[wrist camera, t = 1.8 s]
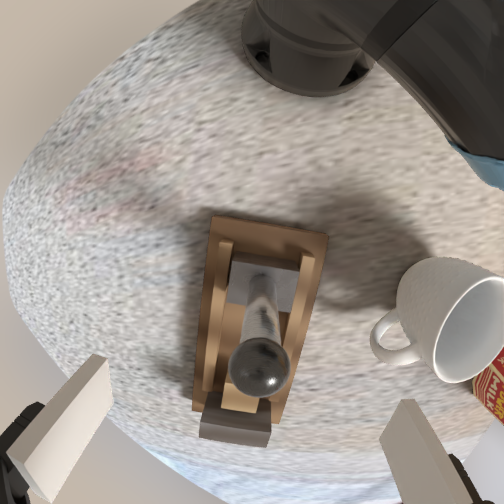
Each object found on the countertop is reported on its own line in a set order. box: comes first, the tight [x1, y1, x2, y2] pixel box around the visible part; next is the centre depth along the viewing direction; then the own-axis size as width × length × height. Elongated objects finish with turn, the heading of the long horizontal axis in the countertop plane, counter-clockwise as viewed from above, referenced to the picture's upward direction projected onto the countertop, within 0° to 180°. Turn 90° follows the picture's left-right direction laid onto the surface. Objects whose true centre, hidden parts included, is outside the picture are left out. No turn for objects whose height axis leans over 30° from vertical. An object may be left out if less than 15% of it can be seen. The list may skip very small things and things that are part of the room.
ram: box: [226, 251, 299, 398], centre depth 21 cm, size 4×6×18 cm, turn 81°
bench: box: [192, 215, 329, 448], centre depth 30 cm, size 26×12×8 cm, turn 171°
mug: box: [370, 257, 504, 383], centre depth 26 cm, size 15×11×13 cm
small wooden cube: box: [221, 370, 259, 413], centre depth 31 cm, size 4×4×4 cm
